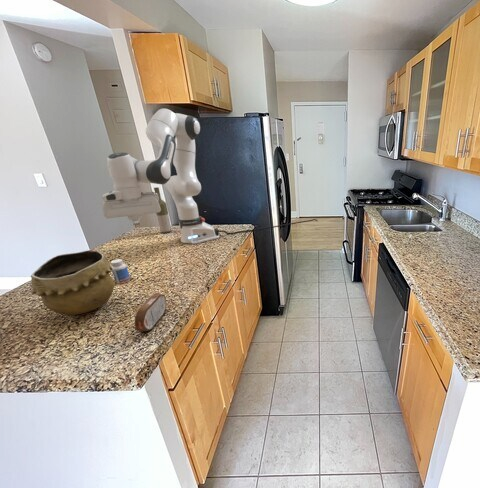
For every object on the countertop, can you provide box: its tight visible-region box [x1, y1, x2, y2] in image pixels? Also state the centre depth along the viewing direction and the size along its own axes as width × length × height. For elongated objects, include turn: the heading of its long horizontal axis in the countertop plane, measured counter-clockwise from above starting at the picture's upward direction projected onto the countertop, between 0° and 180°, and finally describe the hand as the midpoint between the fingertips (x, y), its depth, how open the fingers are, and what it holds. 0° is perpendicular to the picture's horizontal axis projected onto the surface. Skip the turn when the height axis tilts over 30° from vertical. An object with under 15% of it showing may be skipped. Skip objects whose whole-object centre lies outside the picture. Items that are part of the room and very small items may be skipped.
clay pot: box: [30, 249, 115, 316], centre depth 91 cm, size 21×21×20 cm
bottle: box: [153, 187, 172, 234], centre depth 171 cm, size 7×7×30 cm
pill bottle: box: [110, 258, 131, 285], centre depth 113 cm, size 6×5×10 cm
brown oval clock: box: [134, 293, 167, 332], centre depth 87 cm, size 15×3×8 cm, turn 5°
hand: (137, 224), depth 115 cm, fingers closed
